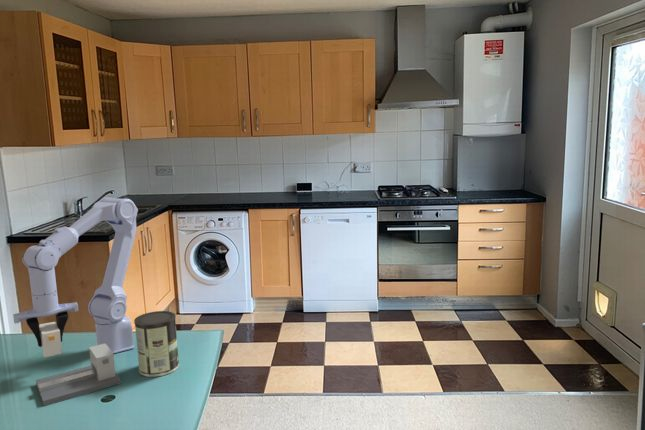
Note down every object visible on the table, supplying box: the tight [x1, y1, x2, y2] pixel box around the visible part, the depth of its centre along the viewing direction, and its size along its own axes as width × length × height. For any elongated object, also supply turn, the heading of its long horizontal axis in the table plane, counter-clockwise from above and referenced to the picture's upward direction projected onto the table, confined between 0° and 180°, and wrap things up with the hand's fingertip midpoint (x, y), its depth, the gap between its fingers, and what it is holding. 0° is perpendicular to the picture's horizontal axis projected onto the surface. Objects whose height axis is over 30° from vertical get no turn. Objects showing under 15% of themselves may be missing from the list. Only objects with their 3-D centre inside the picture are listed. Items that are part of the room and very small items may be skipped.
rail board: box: [35, 343, 121, 407], centre depth 127 cm, size 17×13×7 cm
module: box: [39, 321, 63, 358], centre depth 132 cm, size 4×9×6 cm, turn 35°
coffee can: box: [133, 310, 180, 378], centre depth 134 cm, size 10×10×14 cm
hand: (50, 343), depth 132 cm, fingers closed on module, 4 cm apart
